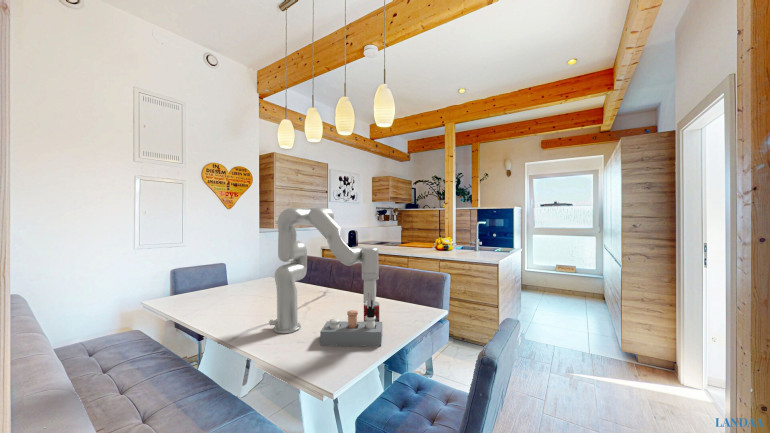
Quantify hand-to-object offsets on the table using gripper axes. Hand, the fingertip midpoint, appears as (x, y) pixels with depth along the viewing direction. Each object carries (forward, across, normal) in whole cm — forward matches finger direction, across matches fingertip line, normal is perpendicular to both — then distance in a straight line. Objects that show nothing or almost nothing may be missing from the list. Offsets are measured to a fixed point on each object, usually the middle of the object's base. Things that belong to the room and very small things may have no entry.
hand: (370, 316), depth 130 cm
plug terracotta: (+6, 0, -8) cm, 10 cm away
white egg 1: (+10, 0, -16) cm, 19 cm away
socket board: (+10, 0, -8) cm, 13 cm away
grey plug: (+8, 0, 0) cm, 8 cm away
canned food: (+11, -18, -1) cm, 21 cm away
